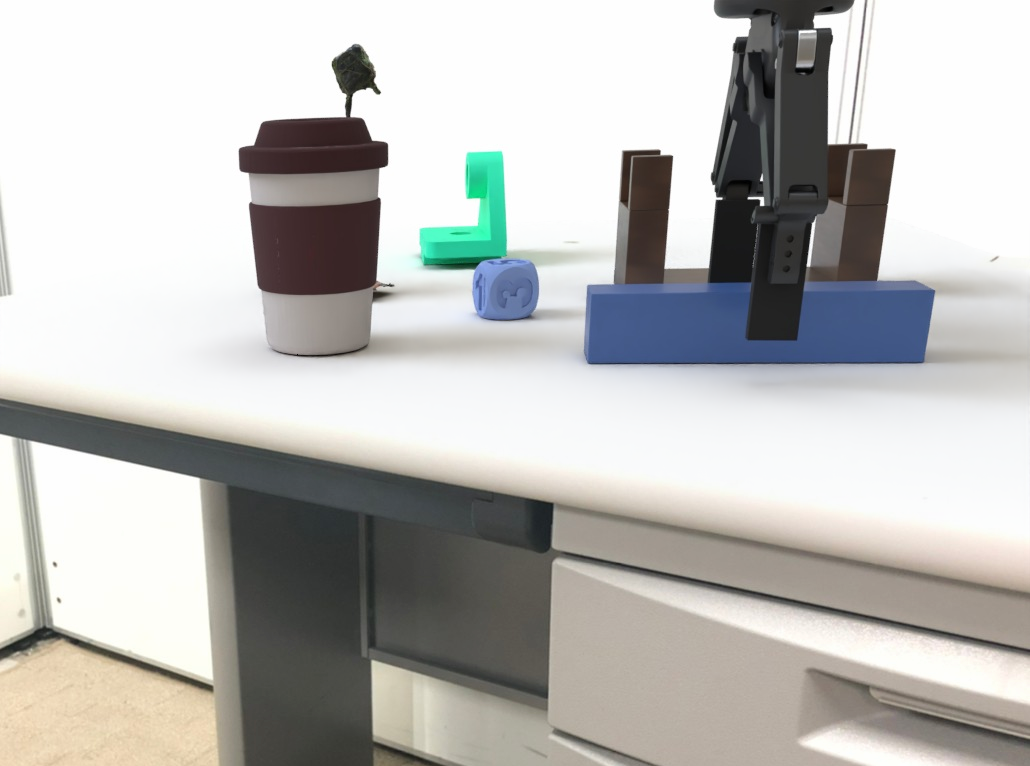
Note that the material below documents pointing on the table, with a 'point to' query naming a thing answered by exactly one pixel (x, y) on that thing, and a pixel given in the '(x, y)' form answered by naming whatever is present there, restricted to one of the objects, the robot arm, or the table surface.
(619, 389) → the table surface
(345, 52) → the plant with pod
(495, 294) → the decorative dice
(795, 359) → the rectangular block
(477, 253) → the camera mount
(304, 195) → the coffee cup
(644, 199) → the holder
